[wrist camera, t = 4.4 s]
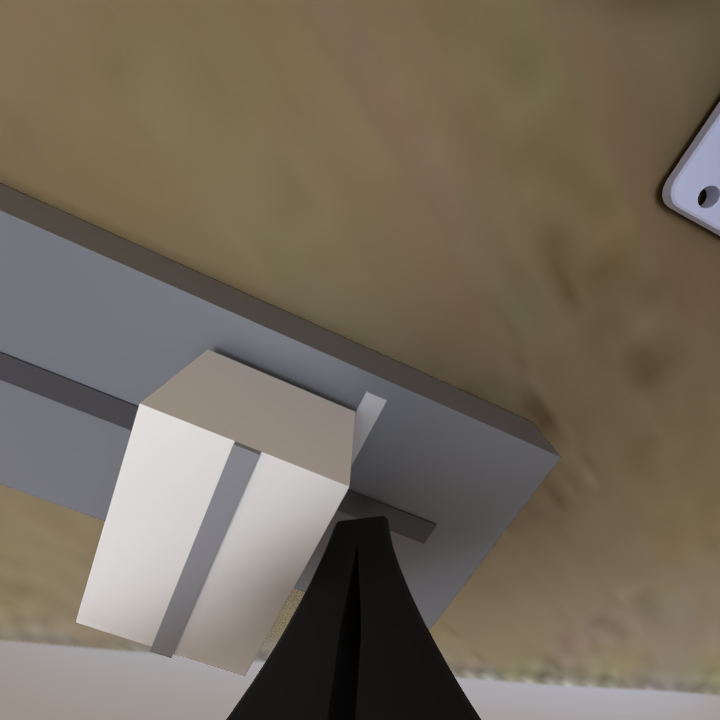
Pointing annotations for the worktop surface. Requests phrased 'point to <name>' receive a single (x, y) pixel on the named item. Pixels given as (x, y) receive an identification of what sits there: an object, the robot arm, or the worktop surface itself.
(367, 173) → the worktop surface
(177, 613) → the fader
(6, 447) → the mixing panel
